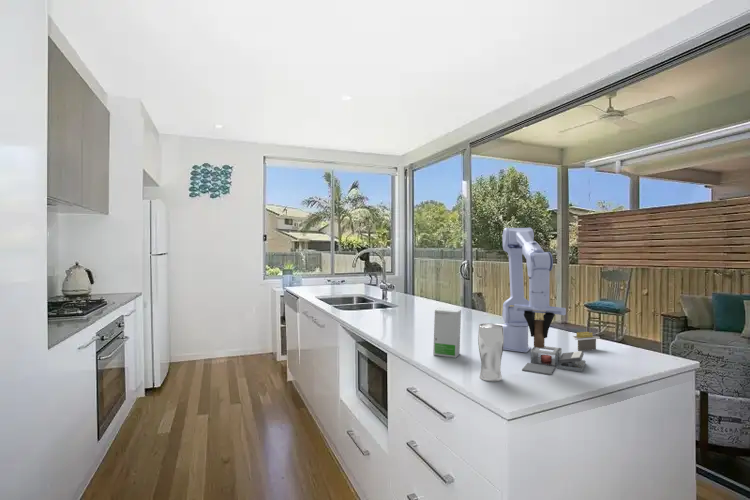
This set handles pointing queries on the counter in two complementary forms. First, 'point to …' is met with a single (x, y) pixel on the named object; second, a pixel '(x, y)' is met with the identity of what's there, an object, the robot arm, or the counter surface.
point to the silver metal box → (556, 359)
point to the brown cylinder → (539, 333)
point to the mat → (538, 368)
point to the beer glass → (491, 351)
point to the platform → (586, 341)
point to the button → (546, 358)
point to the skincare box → (447, 332)
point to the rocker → (571, 357)
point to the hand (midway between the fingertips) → (539, 336)
